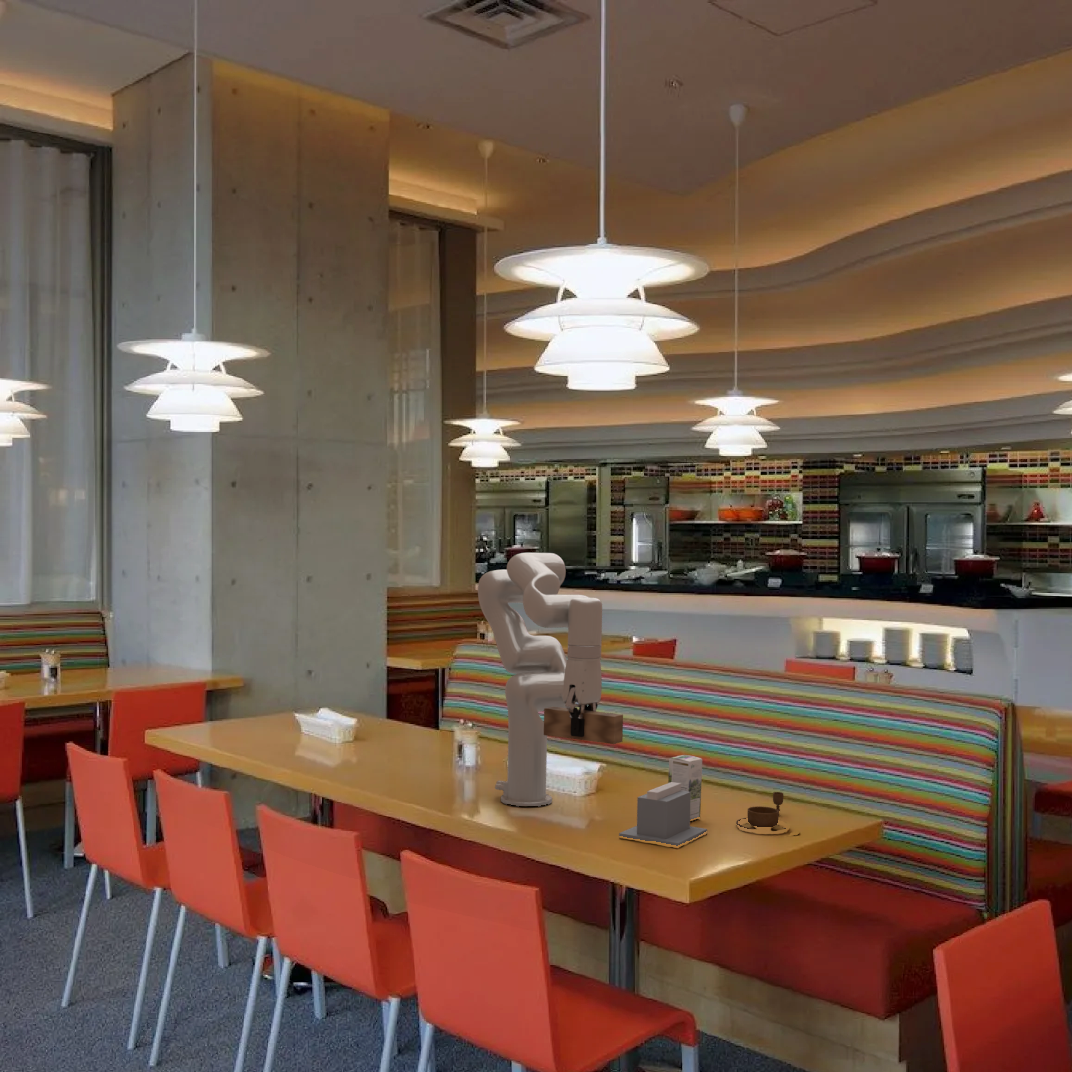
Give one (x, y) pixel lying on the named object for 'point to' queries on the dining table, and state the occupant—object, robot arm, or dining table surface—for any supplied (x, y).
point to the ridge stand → (664, 816)
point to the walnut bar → (595, 725)
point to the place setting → (765, 813)
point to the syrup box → (688, 779)
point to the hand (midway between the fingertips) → (582, 733)
